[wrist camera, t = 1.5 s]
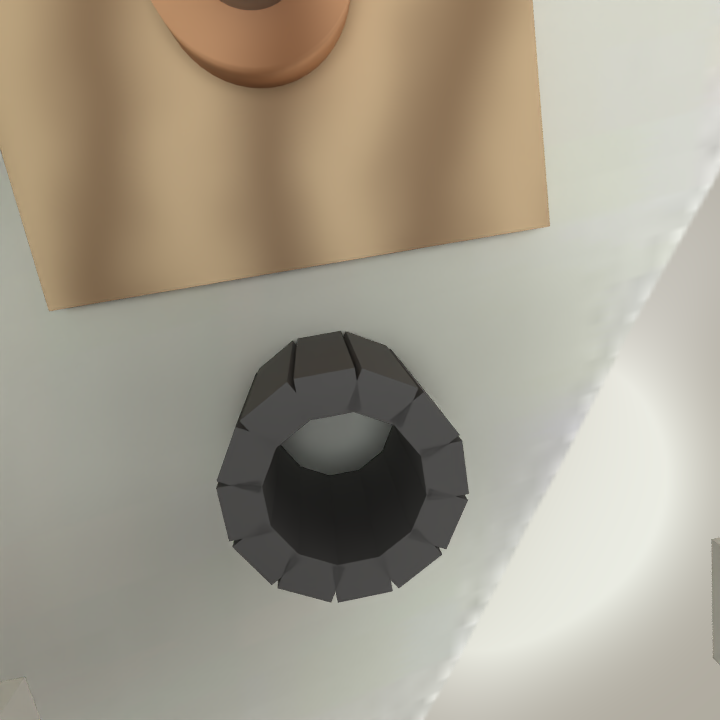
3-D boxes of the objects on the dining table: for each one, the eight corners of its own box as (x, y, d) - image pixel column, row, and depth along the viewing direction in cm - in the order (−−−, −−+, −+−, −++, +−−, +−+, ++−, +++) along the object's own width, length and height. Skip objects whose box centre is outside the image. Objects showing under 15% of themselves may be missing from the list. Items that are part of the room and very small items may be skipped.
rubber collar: (264, 516, 25) (249, 620, 18) (227, 351, 23) (193, 396, 16) (432, 484, 25) (478, 573, 18) (408, 319, 23) (450, 350, 17)
